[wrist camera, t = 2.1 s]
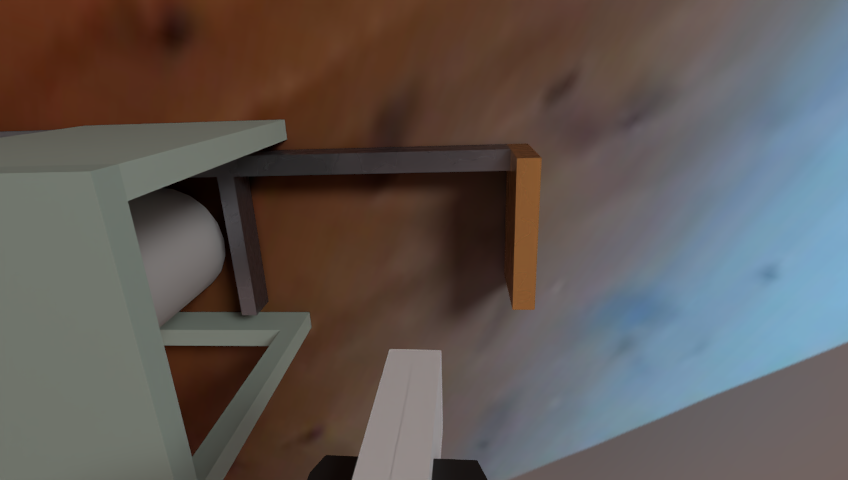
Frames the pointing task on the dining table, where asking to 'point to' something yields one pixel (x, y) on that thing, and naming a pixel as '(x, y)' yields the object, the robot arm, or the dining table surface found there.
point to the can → (176, 248)
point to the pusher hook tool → (421, 159)
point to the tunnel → (113, 308)
